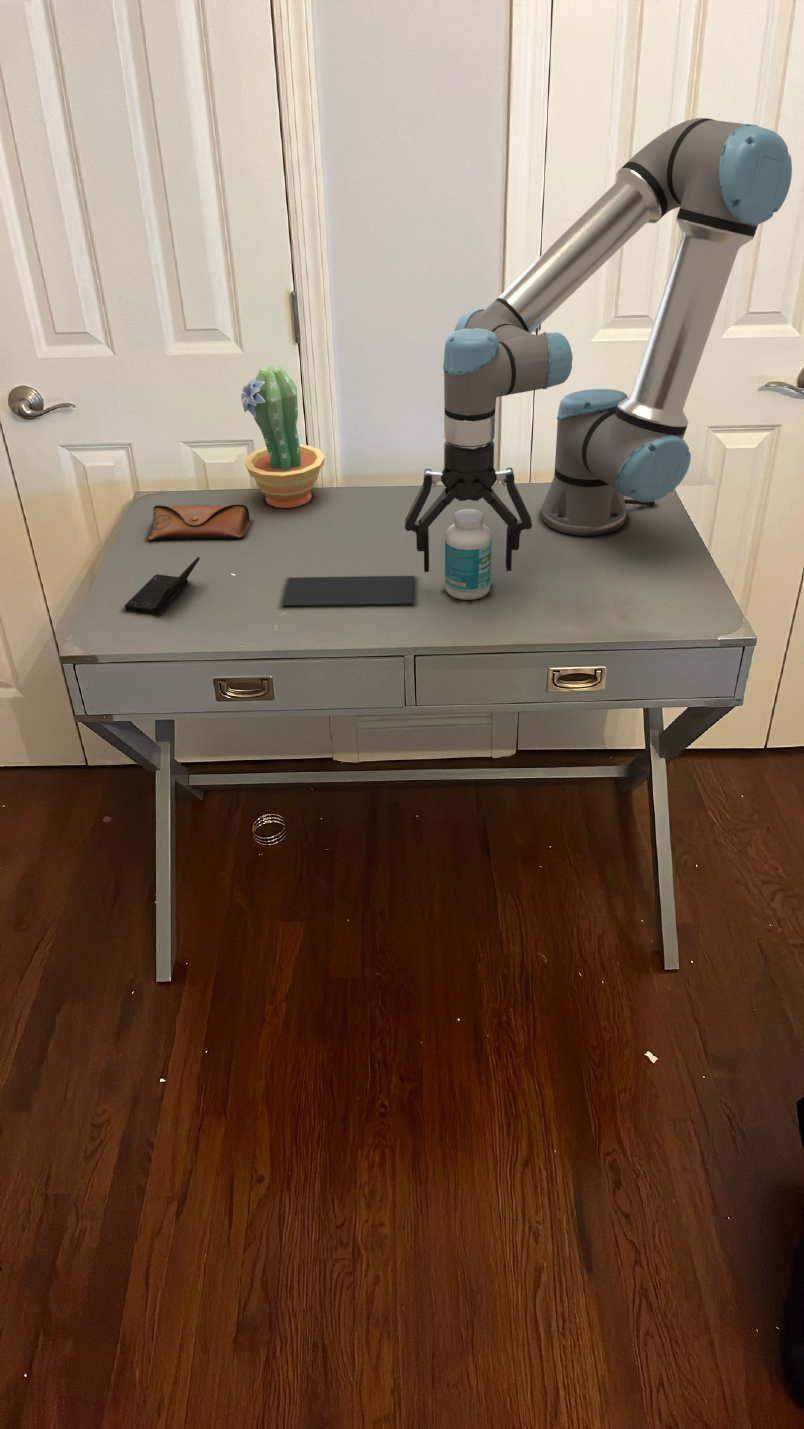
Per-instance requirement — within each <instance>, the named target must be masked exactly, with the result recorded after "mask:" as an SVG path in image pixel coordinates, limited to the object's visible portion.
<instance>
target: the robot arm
mask: <svg viewBox="0 0 804 1429" xmlns="http://www.w3.org/2000/svg"><path fill="white" fill-rule="evenodd" d="M788 149H789V148H788V145H787V143H786V141H785V140H784V138H783V137H782V136H780V134H779V133H777V132H775V131H774V130H771V129H768V128H765V127H762V126H759V125H758V124H750V123H739V122H732V121H724V120H717V119H714V118H707V117H696V118H691V119H688V120H685V121H682V122H680V123H677V124H676V125H673V126H672V127H670V128H669V129H667V130H666V131H664V132H663V133H660V135H658V136H657V137H655V138H653V139H651V141H650V142H649V143H647V144H646V145H644V146H643V147H642V148H641V149H640V150H639V151H638V152H636V153H635V154H634V155H633V156H632V157H631V158H630V159H629V160H628V161H627V162H626V163H625V164H624V165H623V166H622V167H621V168H620V169H619V170H617V172H616V174H615V183H614V184H613V185H612V186H611V187H610V188H608V190H607V191H606V192H605V193H604V194H603V195H602V196H601V197H600V198H599V199H597V200H596V201H595V202H594V203H593V204H592V205H591V206H590V208H588V209H587V210H586V211H585V212H584V214H582V215H581V216H580V217H579V218H578V219H576V221H575V222H574V223H573V224H572V225H570V227H569V228H568V229H567V230H565V232H564V233H562V235H560V236H559V238H558V239H556V240H555V241H554V242H553V244H551V245H550V246H549V247H548V248H547V250H545V251H544V252H543V253H542V255H540V256H539V257H538V258H537V259H536V260H535V261H534V262H533V263H531V265H529V267H528V268H527V269H526V270H525V271H524V272H523V273H522V274H521V275H520V276H519V277H518V278H517V279H515V281H513V283H511V285H509V286H508V287H507V288H506V289H505V290H504V291H503V292H502V293H501V294H500V295H499V296H498V297H497V298H496V299H495V300H494V301H492V303H490V305H488V306H487V307H486V309H484V308H482V309H481V308H474V309H469V310H468V311H466V312H464V313H463V314H462V315H461V316H460V317H459V319H458V320H457V323H456V324H455V327H454V331H453V332H451V333H450V334H449V335H448V336H447V337H446V339H445V344H444V352H443V353H444V355H443V365H442V370H443V390H444V393H443V394H444V396H443V398H444V402H443V405H444V409H443V410H444V412H443V438H444V440H445V441H444V444H443V469H442V472H441V471H440V472H439V471H433V470H432V469H431V468H425V469H424V470H423V481H422V484H421V486H420V488H419V491H418V492H417V495H416V497H415V498H414V500H413V503H412V505H411V507H410V509H409V511H408V513H407V515H406V517H405V520H404V529H405V531H407V532H414V533H415V535H416V551H417V552H423V565H424V566H423V572H424V573H429V572H430V539H429V538H430V536H429V535H430V534H429V533H430V532H429V531H430V526H431V525H432V524H433V523H434V521H436V519H437V518H439V516H440V514H441V513H442V512H443V511H444V510H445V509H446V508H447V507H448V506H449V505H450V504H451V503H452V502H453V501H454V500H455V499H456V500H458V502H464V501H469V500H470V501H473V502H479V500H481V499H483V500H484V501H485V502H486V503H487V504H488V505H490V507H491V508H492V509H493V510H494V511H495V513H497V516H499V517H500V518H501V520H502V521H503V523H505V525H507V526H506V540H505V544H506V545H505V570H506V572H511V571H512V561H513V551H518V550H519V548H520V538H521V533H522V531H524V530H530V529H532V528H533V527H532V526H533V522H532V517H531V516H530V513H529V510H528V509H527V506H526V504H525V502H524V500H523V498H522V496H521V494H520V492H519V489H518V487H517V485H516V483H515V474H514V469H513V468H512V467H510V466H508V467H507V468H505V470H499V471H497V470H495V442H494V440H495V437H496V411H497V410H496V407H497V398H500V397H505V396H506V397H507V396H509V395H515V394H521V393H527V392H532V391H537V390H548V388H551V387H555V386H558V385H562V384H563V383H565V382H566V381H567V380H568V379H569V377H570V375H571V373H572V369H573V351H572V346H571V344H570V342H569V340H568V339H567V337H566V336H564V334H562V333H561V332H556V331H555V332H542V333H540V334H534V333H533V332H534V331H535V330H536V329H538V328H539V327H540V326H541V325H542V324H543V323H544V322H545V321H546V320H547V319H548V318H549V317H550V316H551V315H552V314H554V312H555V311H557V310H558V309H559V307H561V305H563V304H564V303H565V302H566V301H567V300H568V299H570V297H571V296H572V295H573V294H574V293H575V292H576V291H577V290H578V289H579V288H580V287H582V285H583V284H585V282H587V281H588V280H589V279H590V278H591V277H592V276H593V275H594V274H595V273H596V272H597V271H598V270H600V268H601V267H602V266H603V265H604V264H605V263H606V262H607V261H608V260H609V259H611V258H612V257H613V256H615V254H616V253H617V252H618V251H619V250H620V249H621V248H622V247H623V246H624V245H625V244H626V243H628V241H629V240H630V239H632V238H633V236H634V235H636V234H637V233H638V232H639V231H640V230H641V229H642V228H643V227H644V226H645V225H646V224H656V223H658V222H659V221H660V220H661V219H662V218H663V217H664V216H665V215H666V214H668V213H669V212H671V211H673V210H675V209H678V208H679V209H678V211H677V212H678V213H677V215H676V219H675V221H676V223H677V225H678V228H679V230H680V233H681V236H680V239H679V243H678V246H677V249H676V251H675V255H674V258H673V262H672V264H671V268H670V270H669V274H668V278H667V281H666V284H665V287H664V290H663V293H662V296H661V300H660V302H659V305H658V308H657V311H656V314H655V319H654V321H653V324H652V327H651V331H650V334H649V337H648V340H647V343H646V346H645V350H644V351H643V352H644V353H643V356H642V359H641V362H640V365H639V369H638V371H637V375H636V377H635V380H634V381H635V382H634V383H633V387H632V390H631V394H630V395H629V396H628V395H627V393H626V392H624V391H621V390H618V389H611V388H610V389H609V388H592V389H583V390H577V391H573V392H570V393H568V394H567V395H565V396H564V397H563V398H562V399H561V400H560V401H559V405H558V411H557V416H556V420H557V424H556V441H555V456H554V457H555V459H554V474H553V478H552V481H551V483H550V486H549V488H548V490H547V493H546V494H545V495H546V496H545V498H544V501H543V503H542V506H541V520H542V521H543V523H544V524H546V525H547V527H549V528H551V529H553V530H555V531H557V532H560V533H563V534H566V535H567V534H568V535H572V536H581V537H583V536H584V537H590V536H591V537H592V536H601V535H605V534H606V535H607V534H610V533H612V532H615V531H617V530H619V529H621V528H622V527H623V525H624V524H625V523H626V518H627V506H626V505H640V506H653V505H655V503H656V502H655V501H658V500H660V499H663V498H665V497H666V496H667V495H668V494H670V493H673V491H674V490H675V489H676V488H677V487H678V486H679V485H680V484H681V483H682V482H683V480H684V478H685V476H686V475H687V473H688V471H689V468H690V464H691V459H692V457H691V456H692V453H691V452H690V447H689V445H688V443H687V442H686V441H685V440H684V437H685V434H686V432H687V428H688V425H689V421H688V419H687V416H686V414H685V412H684V407H685V405H686V402H687V399H688V396H689V394H690V391H691V388H692V385H693V382H694V379H695V375H696V374H697V371H698V367H699V365H700V362H701V359H702V356H703V353H704V350H705V347H706V344H707V342H708V339H709V335H710V333H711V330H712V327H713V324H714V322H715V319H716V315H717V312H718V310H719V308H720V305H721V301H722V298H723V295H724V292H725V289H726V286H727V283H728V281H729V278H730V275H731V272H732V269H733V266H734V264H735V261H736V258H737V255H738V252H739V250H740V249H741V248H742V247H743V246H745V245H746V244H748V243H749V242H751V241H753V240H754V238H755V235H756V232H757V230H758V227H759V225H760V224H762V223H766V222H767V221H769V220H771V218H773V216H774V213H777V212H778V211H779V210H780V209H781V208H782V206H783V204H784V202H785V201H786V199H787V196H788V193H789V191H790V187H791V183H792V176H793V163H792V156H791V155H790V153H789V150H788ZM497 481H499V482H500V484H501V485H502V486H503V487H504V486H505V487H506V489H507V493H508V494H509V497H510V500H511V501H512V504H513V506H514V508H515V510H516V513H517V515H518V517H519V518H520V519H518V518H517V517H516V516H515V515H514V514H513V512H512V511H511V510H510V509H509V507H508V506H507V505H506V504H505V503H504V502H503V501H502V500H501V498H500V497H499V496H498V495H497V493H496V492H495V490H494V489H493V486H494V484H495V483H496V482H497ZM439 482H441V484H442V485H443V486H444V489H443V490H442V491H441V493H440V495H439V496H438V497H437V499H436V500H434V502H433V503H432V504H431V505H430V506H429V508H428V509H427V510H426V511H425V512H424V514H423V515H422V516H421V517H420V518H419V516H420V514H421V512H422V510H423V509H424V506H425V504H426V501H427V499H428V498H429V496H430V493H431V491H432V488H434V487H437V484H438V483H439ZM624 496H625V497H627V498H628V497H629V499H625V498H624ZM418 518H419V519H418Z"/></svg>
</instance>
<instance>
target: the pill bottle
mask: <svg viewBox="0 0 804 1429" xmlns="http://www.w3.org/2000/svg"><path fill="white" fill-rule="evenodd" d="M484 516H485V515H484V513H483V512H482V511H480V510H477V509H474V508H466V509H465V508H464V509H460V510H457V511H455V513H454V514H453V524H451V525H450V526H449V527H448V528H447V529H446V531H445V533H444V534H445V535H444V588H445V591H446V593H447V594H448V595H450V596H451V597H453V598H455V599H459V600H465V601H468V600H469V601H472V600H478V599H481V598H483V597H484V596H486V595H487V594H488V593H489V591H490V589H491V570H492V540H493V539H492V538H493V537H492V535H493V534H492V531H491V529H490V528H489V527H488V525H486V524H484V521H485V520H484V519H485V518H484Z"/></svg>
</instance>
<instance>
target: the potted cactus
mask: <svg viewBox="0 0 804 1429" xmlns="http://www.w3.org/2000/svg"><path fill="white" fill-rule="evenodd" d="M241 391H242V392H241V394H240V396H241V403H242V408H243V412H244V413H247V412H249V413H250V414H251V415H252V416H253V419H254V421H255V423H256V424H257V426H258V428H259V430H260V432H261V434H262V437H263V440H264V443H265V446H264V447H261V448H259V449H257V450H255V451H252V452H250V453H249V455H247V457H246V458H245V459H244V460H243V462H244V465H245V468H246V470H247V472H248V474H249V477H251V478H253V479H254V480H255V482H256V485H257V487H258V489H259V490H260V491H261V493H263V494H264V495H265V501H266V504H268V505H270V506H272V507H275V508H286V509H289V508H294V507H300V506H302V505H305V504H307V503H309V502H310V500H311V498H312V497H313V496H312V493H311V491H312V489H313V487H314V486H315V485H316V483H317V481H318V478H319V476H320V475H319V474H320V471H321V470H322V468H323V467H324V465H325V459H326V456H325V455H324V453H323V452H322V450H321V449H320V448H316V447H314V446H310V445H308V444H304V443H303V444H301V443H300V440H299V434H298V428H297V426H298V417H299V410H298V409H299V408H298V407H299V406H298V387H297V385H296V383H295V382H294V379H292V377H291V376H290V375H289V374H288V373H287V372H286V371H285V370H284V368H282V366H278V367H276V368H275V367H274V366H273V365H269V366H268V367H267V369H265V368H260V369H259V371H258V373H257V375H256V377H253V378H252V379H250V380H249V381H248V383H246V384H245V385H244V386H243V388H242V390H241Z"/></svg>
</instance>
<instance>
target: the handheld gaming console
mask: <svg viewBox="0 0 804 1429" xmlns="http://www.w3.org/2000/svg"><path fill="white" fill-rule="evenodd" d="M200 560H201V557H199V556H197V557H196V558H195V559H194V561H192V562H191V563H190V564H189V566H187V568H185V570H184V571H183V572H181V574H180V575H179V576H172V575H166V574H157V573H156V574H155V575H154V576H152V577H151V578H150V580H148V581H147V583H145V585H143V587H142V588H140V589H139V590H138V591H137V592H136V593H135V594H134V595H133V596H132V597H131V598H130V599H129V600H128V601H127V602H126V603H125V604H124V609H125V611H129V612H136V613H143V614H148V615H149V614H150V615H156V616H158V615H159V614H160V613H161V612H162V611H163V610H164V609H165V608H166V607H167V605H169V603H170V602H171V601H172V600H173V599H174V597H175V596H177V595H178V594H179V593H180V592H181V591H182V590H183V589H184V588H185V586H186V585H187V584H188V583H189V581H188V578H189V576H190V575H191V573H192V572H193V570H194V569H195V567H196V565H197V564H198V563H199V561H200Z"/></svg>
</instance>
